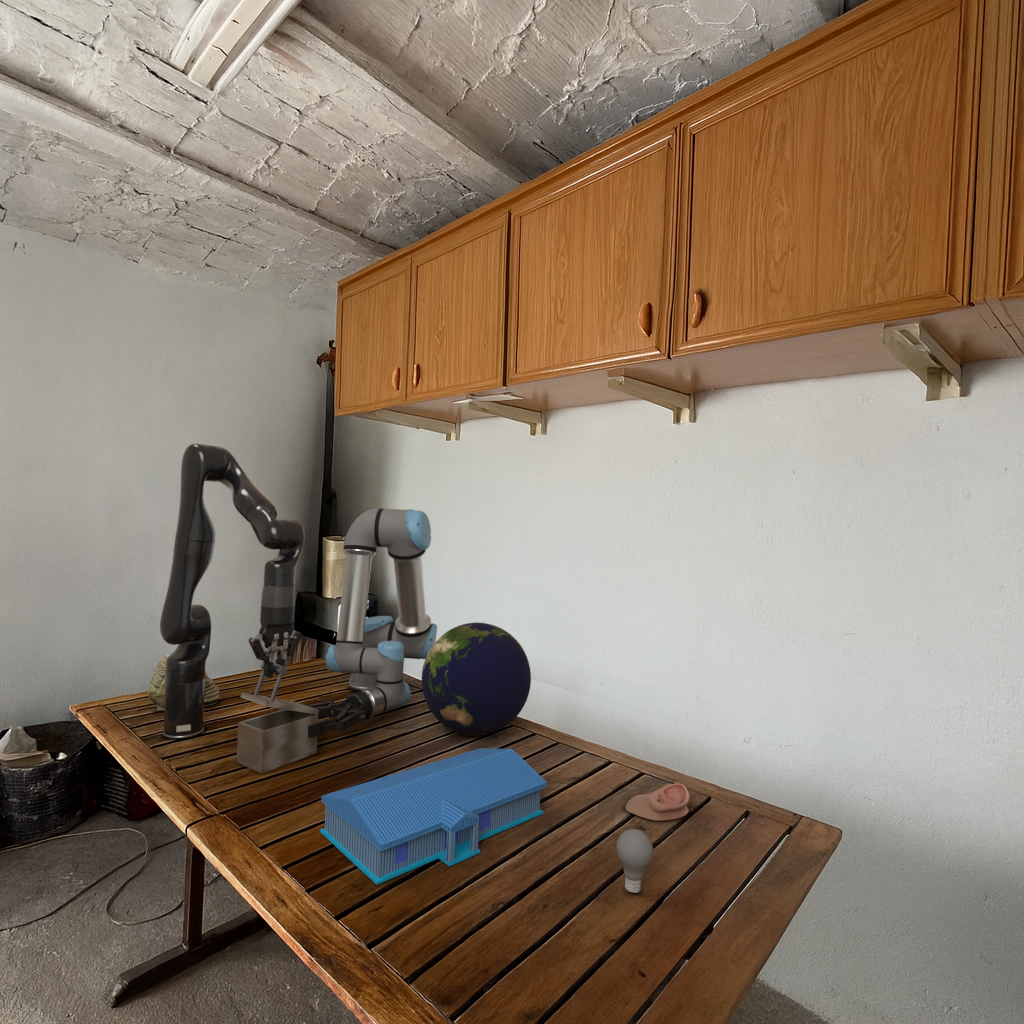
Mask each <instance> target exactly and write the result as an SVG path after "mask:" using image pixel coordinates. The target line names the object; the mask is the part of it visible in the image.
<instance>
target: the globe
mask: <svg viewBox="0 0 1024 1024" xmlns="http://www.w3.org/2000/svg"><path fill="white" fill-rule="evenodd" d="M531 683H532V672H531V665H530V662H529V659H528V656H527V654H526V651H525V650H524V648H523V646H522V645H521V643H520V642H519V641H518V640H517V639H516V638H515V637H514V636H513V635H512V634H510V632H508V631H506V630H505V629H503V628H501V627H500V626H497V625H494V624H491V623H486V622H479V621H478V622H467V623H463V624H460V625H457V626H455V627H453V628H451V629H449V630H447V631H446V632H444V633H443V634H442V635H441V636H439V638H437V639H436V641H435V643H434V644H433V646H432V647H431V649H430V650H429V652H428V654H427V657H426V659H424V662H423V665H422V671H421V689H422V694H423V697H424V700H425V703H426V705H427V707H428V709H429V711H430V712H431V714H432V715H433V716H434V717H435V719H436V720H437V721H438V722H439V723H441V724H442V726H444V727H446V728H447V729H449V730H451V731H453V732H455V733H457V734H461V735H464V736H470V737H471V736H472V737H475V736H476V737H478V736H487V735H489V734H494V733H495V732H498V731H500V730H502V729H504V728H505V727H507V726H508V725H510V724H511V723H512V722H513V721H514V720H515V719H516V718H517V717H518V716H519V714H520V713H522V710H523V709H524V707H525V705H526V703H527V701H528V698H529V694H530V690H531Z"/></svg>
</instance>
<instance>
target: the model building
mask: <svg viewBox="0 0 1024 1024" xmlns="http://www.w3.org/2000/svg"><path fill="white" fill-rule="evenodd" d="M547 786H548V781H546V780H545V779H544V778H543V777H542V776H541V775H540V774H539V773H538V772H537V771H536V770H535V769H534V768H533V767H532V766H531V765H529V763H528V762H527V761H526V760H524V758H523V757H521V755H520V754H519V753H518V752H516V751H515V750H514V749H513V748H482V747H481V748H480V747H479V748H477V749H474V750H471V751H467V752H464V753H460V754H457V755H454V756H449V757H447V758H444V759H440V760H437V761H434V762H430V763H427V764H423V765H420V766H416V767H413V768H410V769H407V770H403V771H400V772H397V773H393V774H390V775H387V776H384V777H379V778H377V779H374V780H370V781H366V782H363V783H360V784H356V785H354V786H350V787H347V788H344V789H339V790H337V791H333V792H330V793H327V794H323V795H321V802H322V803H323V804H324V805H325V810H324V811H325V813H324V828H321V829H319V833H320V834H321V835H322V836H323V837H324V838H326V839H327V840H328V842H330V843H331V844H332V845H333V846H334V847H336V848H337V850H338V851H340V852H341V853H342V854H343V855H344V856H345V857H346V858H347V859H348V860H349V861H351V863H352V864H354V865H355V866H356V867H357V868H358V869H359V870H360V871H361V872H362V873H363V874H364V875H365V876H367V877H368V878H369V879H370V880H371V881H372V882H373V883H374V884H375V885H381V884H382V883H384V882H387V881H389V880H391V879H394V878H397V877H398V876H401V875H404V874H405V873H408V872H410V871H412V870H415V869H417V868H419V867H422V866H424V865H427V864H429V863H431V862H434V861H436V860H440V861H441V862H442V863H444V864H445V865H447V866H448V867H452V866H455V865H456V864H458V863H461V862H463V861H465V860H467V859H470V858H473V857H474V856H477V855H479V854H481V849H480V848H479V842H481V841H483V840H486V839H487V838H490V837H492V836H495V835H497V834H499V833H502V832H504V831H506V830H509V829H511V828H513V827H516V826H518V825H520V824H523V823H525V822H527V821H530V820H532V819H534V818H537V817H539V816H542V815H544V813H545V811H544V810H542V809H541V792H542V791H541V790H544V789H546V788H547Z"/></svg>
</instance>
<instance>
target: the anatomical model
mask: <svg viewBox="0 0 1024 1024" xmlns="http://www.w3.org/2000/svg"><path fill="white" fill-rule="evenodd" d="M690 797H691V796H690V793H689V790H688V789H687V787H686V786H685V785H684V784H682V783H672V784H668V785H664V786H662V787H660V788H657V789H656V790H654V791H652V792H650V793H646V794H636V795H634V796H632V797H631V798H630V799H628V801H627V802H626V804H625V807H624V808H625V811H626V812H628V813H630V814H633V815H634V816H638V817H640V818H643V819H647V820H649V821H656V822H657V821H670V820H675V819H679V818H683V817H685V816H686V815H687V814H688V813H689V807H688V804H689V802H690Z"/></svg>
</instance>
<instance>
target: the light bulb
mask: <svg viewBox="0 0 1024 1024" xmlns="http://www.w3.org/2000/svg"><path fill="white" fill-rule="evenodd" d="M615 849H616V854H617V857H618V859H619V861H620V863H621V865H622V867H623V873H624V874H623V875H624V876H625V878H624V888H625V890H627V891H628V892H630V893H634V894H635V893H639V892H640V891H641V889H642V887H641V886H642V879H643V877H644V875H645V871H646V868H647V867H648V866H649V864H650V863H651V861H652V859H653V855H654V847H653V843H652V841H651V838H649V836H648V835H647V834H646V833H645V832H643V831H642V830H641V829H636V828H629V829H627V830H625V831H623V832H622V833H621V834H620V835H619V837H618V839H617V841H616V847H615Z"/></svg>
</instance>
